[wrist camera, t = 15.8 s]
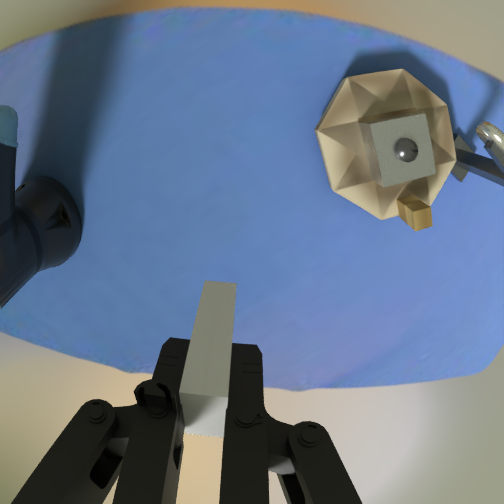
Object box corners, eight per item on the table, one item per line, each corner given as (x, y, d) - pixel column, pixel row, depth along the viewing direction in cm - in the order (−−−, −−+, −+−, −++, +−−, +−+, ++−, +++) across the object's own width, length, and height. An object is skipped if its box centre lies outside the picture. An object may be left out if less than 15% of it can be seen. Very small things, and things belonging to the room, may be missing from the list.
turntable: (339, 226, 38) (353, 249, 32) (301, 88, 31) (310, 82, 25) (452, 194, 35) (480, 210, 29) (429, 66, 28) (458, 62, 22)
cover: (371, 179, 34) (385, 188, 29) (358, 122, 31) (371, 124, 27) (420, 167, 32) (438, 175, 28) (409, 112, 30) (427, 113, 25)
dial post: (413, 135, 34) (480, 152, 21) (430, 108, 32) (500, 115, 19) (458, 180, 36) (523, 214, 23) (473, 155, 34) (541, 181, 21)
